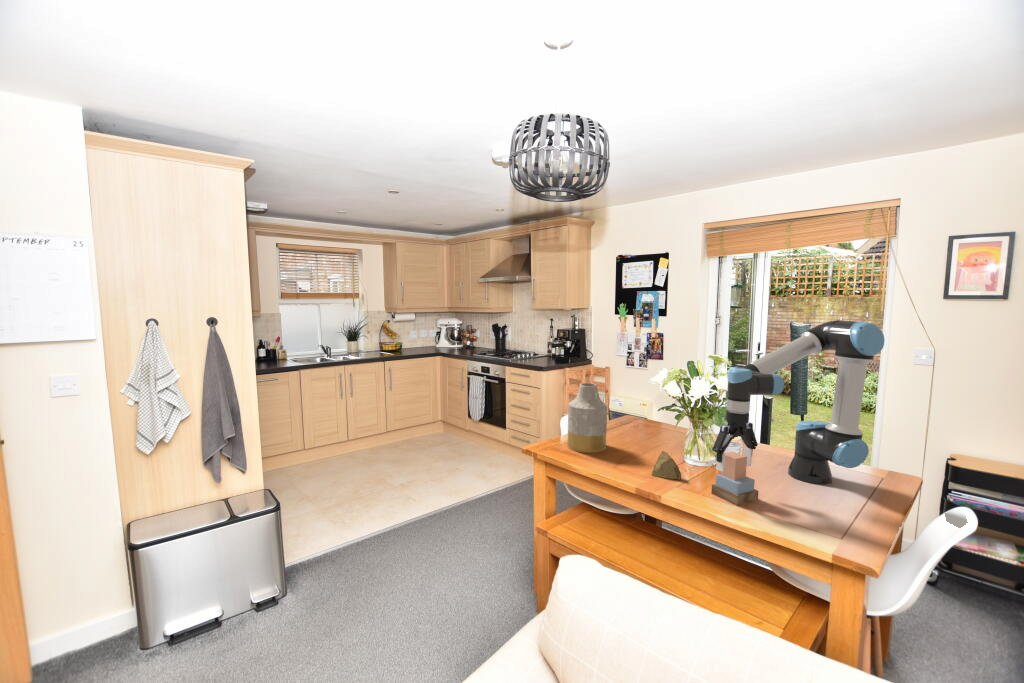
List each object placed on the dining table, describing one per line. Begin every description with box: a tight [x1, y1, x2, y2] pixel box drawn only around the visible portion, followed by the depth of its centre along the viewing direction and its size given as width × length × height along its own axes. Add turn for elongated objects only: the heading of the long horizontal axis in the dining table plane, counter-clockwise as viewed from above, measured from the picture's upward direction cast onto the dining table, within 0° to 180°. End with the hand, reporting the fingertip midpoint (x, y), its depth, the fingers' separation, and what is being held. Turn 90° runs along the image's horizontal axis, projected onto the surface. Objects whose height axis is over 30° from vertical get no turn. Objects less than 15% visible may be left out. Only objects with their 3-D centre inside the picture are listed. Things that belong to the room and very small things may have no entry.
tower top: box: [715, 474, 756, 495], centre depth 170 cm, size 9×9×4 cm
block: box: [720, 451, 748, 480], centre depth 171 cm, size 6×6×8 cm
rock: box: [650, 450, 682, 480], centre depth 188 cm, size 11×9×10 cm
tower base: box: [710, 483, 759, 507], centre depth 171 cm, size 11×11×4 cm
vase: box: [567, 382, 608, 454], centre depth 223 cm, size 18×18×30 cm
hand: (733, 467), depth 171 cm, fingers open, 13 cm apart
